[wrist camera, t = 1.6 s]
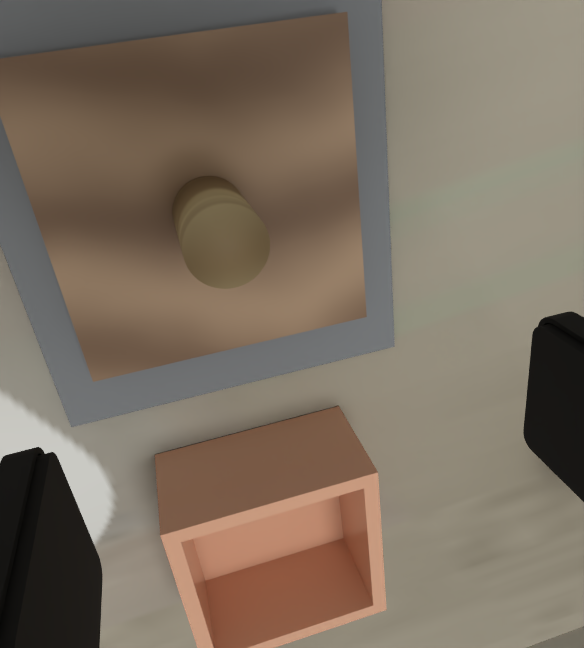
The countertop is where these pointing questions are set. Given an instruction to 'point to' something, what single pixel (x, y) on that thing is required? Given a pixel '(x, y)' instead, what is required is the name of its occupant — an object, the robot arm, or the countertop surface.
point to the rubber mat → (235, 364)
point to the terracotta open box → (273, 531)
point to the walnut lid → (193, 186)
